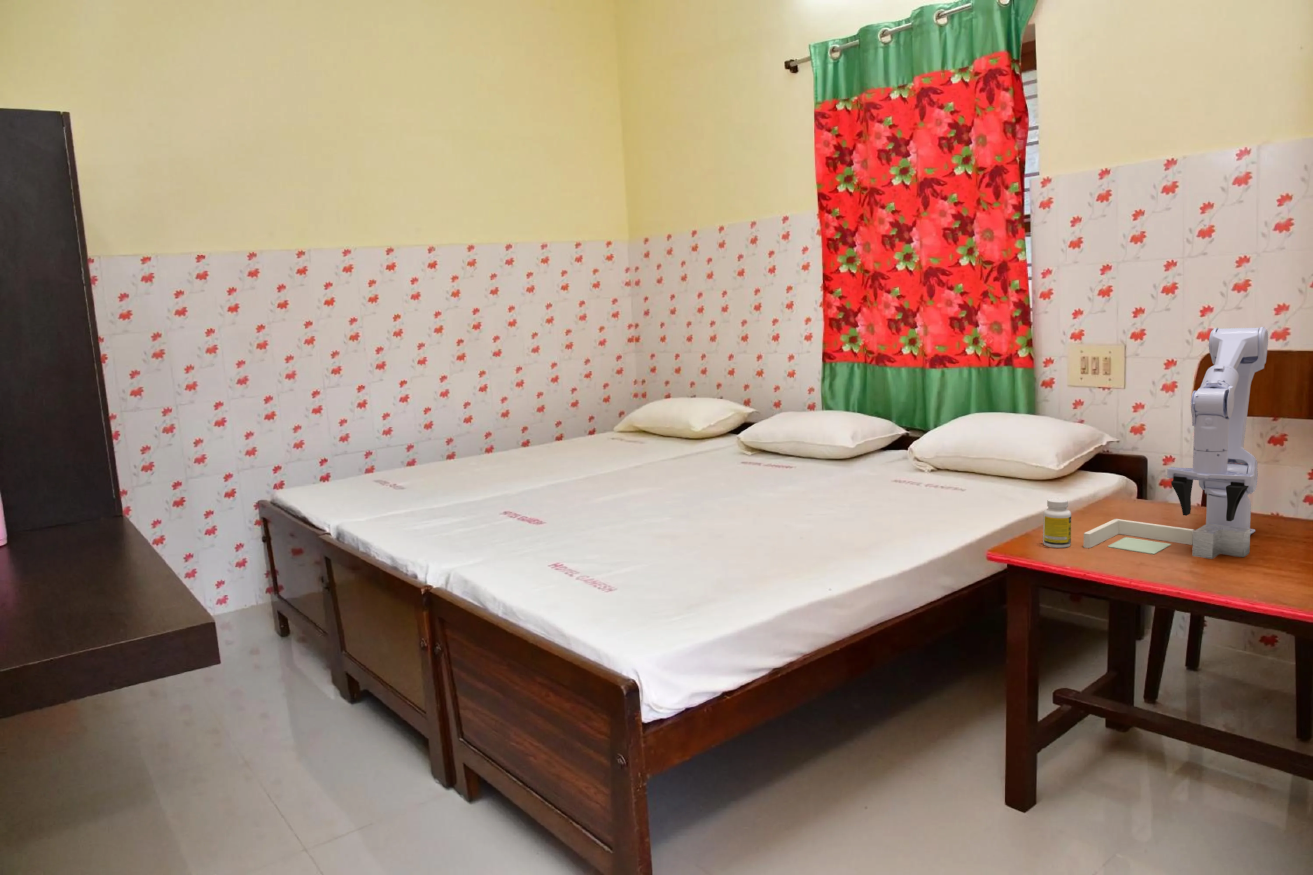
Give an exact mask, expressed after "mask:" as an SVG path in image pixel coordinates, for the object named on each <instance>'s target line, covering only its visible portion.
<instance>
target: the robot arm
mask: <svg viewBox="0 0 1313 875" xmlns="http://www.w3.org/2000/svg"><path fill="white" fill-rule="evenodd" d="M1208 337H1209V339H1208V351H1209V355H1210V358H1211V362H1212V364H1213V365H1212V366H1210V367H1208V368H1207V370H1206V371H1205V374H1204V377H1203V379H1202V382H1201V384H1200V387H1199V388H1198V389H1197V390H1193V392H1192V393H1191V398H1190V412H1191V424H1192V426H1193V451H1192V452H1193V454H1192V455H1193V456H1192V467H1174V466H1173V467H1172V466H1171V467H1168V468H1167V475H1166V476H1167V477H1166V478H1167V479H1172V481H1171V482H1170V484H1171V486H1172V488H1173V490H1174V491H1175V493H1176V496H1177V498H1178V501H1179V505H1180V508H1181V512H1182V516H1186V517H1187V516H1190V515H1191V509H1192V489H1193V484H1194V481H1198V486H1199V487H1200V489H1201V490H1203V491H1204V494H1205V495H1206V516H1205V518H1206V519H1205V524H1207V523H1209V524H1216V525H1224V526H1232V527H1240V528H1248V529H1250V535H1252V534H1254V533H1255V532H1256V529H1254V528H1251V518H1252V516H1251V514H1252V513H1251V512H1252V501H1251V499H1250V498H1249V495H1252V494H1254V492H1256V490H1257V487H1258V486H1257V485H1258V478H1259V476H1258V474H1259V473H1258V459H1257V458H1256V457H1255V455H1254V454H1252V453H1251V452H1249V451H1248V450H1247V449H1245V448H1244V446H1245V440H1246V439H1245V438H1246V436H1245V435H1246V429H1247V421H1248V420H1247V419H1248V410H1249V402H1250V394H1251V385H1252V381H1253V379H1254V376H1255V373H1257V372H1259V371H1261V370H1264V369H1265V364H1266V363H1267V358H1268V357H1267V356H1268V348H1269V332H1268V329H1267V328H1266V327H1265V326H1260V327H1232V328H1231V327H1229V328H1228V327H1227V328H1224V327H1223V328H1220V327H1214V328H1213V329H1212V330H1211V332H1210V333H1209V336H1208Z"/></svg>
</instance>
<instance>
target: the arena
mask: <svg viewBox="0 0 1313 875" xmlns="http://www.w3.org/2000/svg"><path fill="white" fill-rule="evenodd" d="M1193 531H1195V529H1193V528H1187V527H1186V528H1185V527H1179V526H1170V525H1164V524H1159V523H1158V524H1155V523H1151V522H1150V523H1149V522H1144V521H1143V522H1142V521H1135V520H1134V521H1133V520H1128V519H1119V518H1114V519H1112V520H1110V521H1107V522H1106V523H1103V524H1101V525H1098V526H1097V527H1094V528H1092V529H1090V530H1088V531H1085V532H1083V548H1085V549H1090V548H1092V547H1094V546H1097V545H1099V544H1100V543H1103V542H1105V541H1107V540H1109V539H1111V538H1113V537H1115V536H1118V535H1123V536H1129V537H1137V538H1143V539H1149V540H1150V539H1151V540H1157V541H1164V542H1168V543H1169V542H1170V543H1178V544H1184V545H1190V546H1193Z"/></svg>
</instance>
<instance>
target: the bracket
mask: <svg viewBox="0 0 1313 875" xmlns="http://www.w3.org/2000/svg"><path fill="white" fill-rule="evenodd" d="M1250 529H1251V528H1250ZM1250 529H1248V528H1240V527H1232V526H1224V525H1216V524H1209V523H1207V524H1206V523H1205V524H1203V525H1202V526H1200V527H1199V528H1197V529H1194V531H1193V544H1192V555H1191V556H1192V557H1197V558H1203V559H1209V560H1214V559H1215V558H1216V557H1218V556H1219V555H1225V556H1230V557H1238V558H1245V557H1247V556H1248V555H1250V551H1251V549H1250V548H1251V547H1250V546H1251V534H1250Z"/></svg>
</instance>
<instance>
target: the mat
mask: <svg viewBox="0 0 1313 875" xmlns="http://www.w3.org/2000/svg"><path fill="white" fill-rule="evenodd" d="M1170 546H1172V543H1169V542H1167V543H1166V542H1159V541H1154V540H1147V539H1141V538H1140V539H1139V538H1134V537H1130V536H1129V537H1128V536H1125V537H1123V538H1121V539H1118V540H1116V541H1115V542H1112V543H1111V544H1109V545H1107V548H1111V549H1118V550H1124V551H1130V552H1136V553H1143V554H1148V555H1156V554H1158V553H1159V552H1162V551H1163V550H1165V549H1167V548H1168V547H1170Z"/></svg>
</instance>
